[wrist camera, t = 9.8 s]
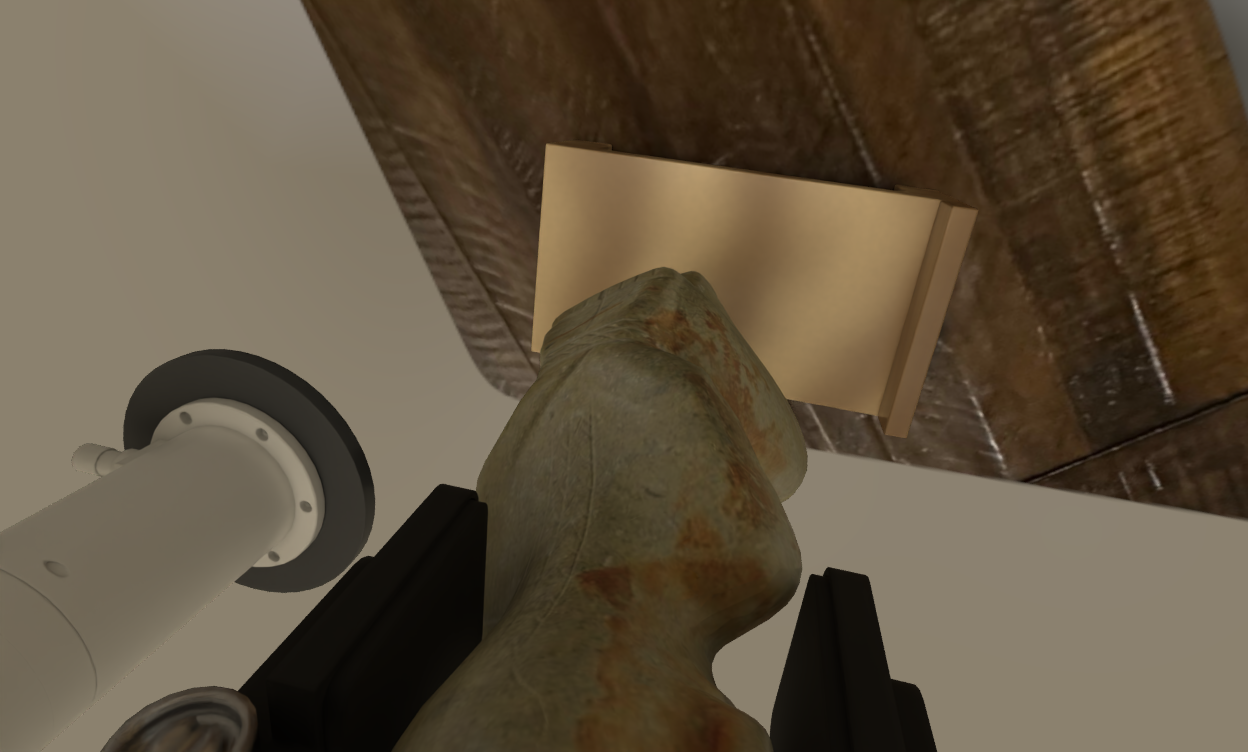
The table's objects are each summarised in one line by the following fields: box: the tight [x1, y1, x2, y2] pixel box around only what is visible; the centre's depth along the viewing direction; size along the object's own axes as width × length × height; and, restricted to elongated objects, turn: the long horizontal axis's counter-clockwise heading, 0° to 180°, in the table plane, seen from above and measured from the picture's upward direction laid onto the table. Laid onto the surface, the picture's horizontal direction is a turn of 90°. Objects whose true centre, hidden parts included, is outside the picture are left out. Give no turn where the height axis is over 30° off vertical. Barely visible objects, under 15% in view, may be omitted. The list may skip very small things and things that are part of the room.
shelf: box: [531, 140, 978, 438], centre depth 32 cm, size 18×10×7 cm, turn 83°
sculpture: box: [391, 267, 807, 752], centre depth 12 cm, size 6×7×15 cm
